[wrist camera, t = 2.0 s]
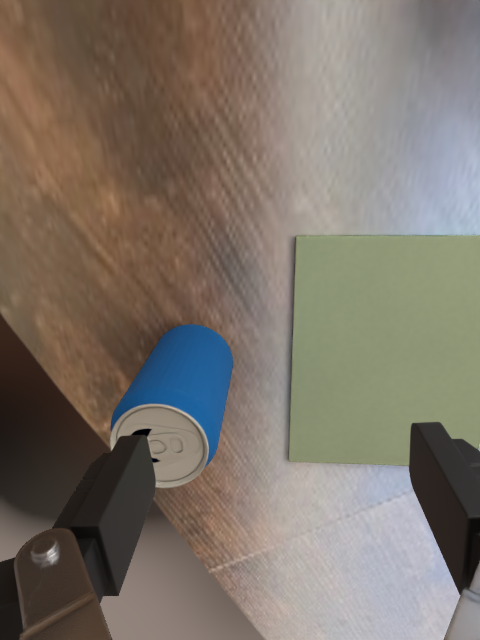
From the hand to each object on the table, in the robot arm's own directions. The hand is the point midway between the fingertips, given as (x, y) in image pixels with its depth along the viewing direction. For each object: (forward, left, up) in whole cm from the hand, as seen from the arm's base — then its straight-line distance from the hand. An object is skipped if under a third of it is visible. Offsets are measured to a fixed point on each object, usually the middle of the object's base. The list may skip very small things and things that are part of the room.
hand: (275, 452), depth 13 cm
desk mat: (+10, -7, -21) cm, 24 cm away
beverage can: (-6, -7, -21) cm, 23 cm away
